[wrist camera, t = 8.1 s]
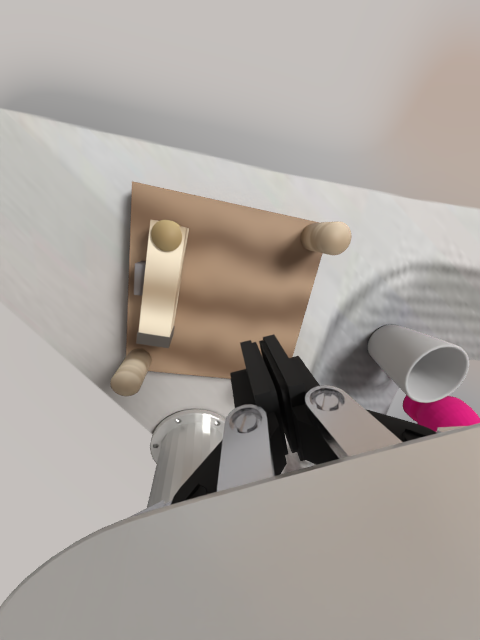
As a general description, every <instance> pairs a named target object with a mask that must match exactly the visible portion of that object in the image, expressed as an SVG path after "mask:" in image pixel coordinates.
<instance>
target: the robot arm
mask: <svg viewBox="0 0 480 640" xmlns="http://www.w3.org/2000/svg"><path fill="white" fill-rule="evenodd" d="M259 343H260V348H261V353H262V355H261V353H260V350H259V348H258V345H257V343H256V342H253V343H252V342H251V340H249V341H244V342H240V345H241V350H242V354H243V358H244V363H245V367H246V369H243V370H239V371H235V372H231V373H230V376H231V383H232V390H233V397H234V404H235V409H234V410H232V411H231V412H230V413H229V414H228V416H227V417H226V419H225V418H223V417H222V416H220V415H218V414H217V413H214V412H211V411H208V410H201V409H191V410H184V411H181V412H177V413H175V414H173V415H171V416H169V417H167V418H166V419H164V420H163V421H162V422H161V423H160V424H159V425H158V426H157V427H156V429H155V431H154V433H153V436H152V439H151V444H150V450H151V454H152V457H153V459H154V461H155V462H156V464H157V466H156V471H155V475H154V479H153V484H152V489H151V493H150V497H149V501H148V506H147V509H145V510H143V511H141V512H139V513H137V514H135V515H133V516H131V517H129V518H127V519H124V520H121V521H119V522H116V523H114V524H112V525H109V526H107V527H104V528H102V529H100V530H98V531H96V532H94V533H92V534H90V535H88V536H86V537H84V538H82V539H80V540H79V541H77V542H75V543H73V544H72V545H70V546H69V547H67V548H66V549H64V550H63V551H61V552H60V553H58V554H57V555H55V556H53V557H52V558H50V559H49V560H48V561H46V562H45V563H44V564H43V565H41V566H40V567H39V568H37V569H36V570H35V571H34V572H33V573H32V574H30V575H29V576H28V577H27V578H25V580H23V581H22V582H21V584H19V585H18V587H17V588H16V589H15V590H14V591H13V592H12V593H11V594H10V595H9V596H8V598H7V599H6V600H5V601H4V602H3V604H2V605H1V606H0V640H480V423H478V424H474V425H470V426H456V427H438V428H437V432H435V431H433V430H432V429H430V428H427V427H425V426H422V425H419V424H415V423H412V422H408V421H405V420H401V419H398V418H394V417H391V416H387V415H384V414H380V413H377V412H373V411H370V410H366V409H364V408H363V407H362V406H361V405H360V404H359V403H357V402H356V401H355V400H354V399H353V398H352V397H351V396H349V395H348V394H347V393H346V392H345V391H343V390H342V389H340V388H337V387H335V386H329V385H323V386H320V385H319V384H318V382H317V381H316V380H315V378H314V377H313V375H312V374H311V373H310V371H309V370H308V368H307V367H306V366H305V364H304V363H303V361H302V360H301V359H300V357H299V356H296V357H292V358H289V357H288V356H287V354H286V352H285V351H284V349H283V348H282V346H281V344H280V343H279V341H278V340H277V338H276V336H275V335H274V334H273V335H269V336H265V337H263V340H261V341H259ZM284 433H285V434H284ZM285 435H286V438H287V441H288V443H289V446H290V449H291V451H292V453H295V452H297V453H298V456H299V458H300V461H303V460H307V461H310V462H312V463H314V466H311V467H307V468H303V469H299V470H296V471H292V472H288V473H284V474H281V472H282V470H283V469H284V467H285V465H286V464H287V463H286V458H285V455H287V454H288V450H287V445H286V439H285ZM280 474H281V475H280Z"/></svg>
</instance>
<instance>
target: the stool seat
mask: <svg viewBox="0 0 480 640" xmlns="http://www.w3.org/2000/svg"><path fill="white" fill-rule="evenodd" d="M150 220H156V221H161V220H170V221H174V222H177V223H179V224H180V225H181V226H182V227H185V228H189V231H188V238H187V244H186V250H185V257H184V263H183V270H182V276H181V283H180V289H179V295H178V302H177V308H176V315H175V321H174V326H175V327H174V334H173V338H172V340H171V343H170V346H169V348H163V347H156V346H150V345H143V344H137V343H136V339H137V332H138V331H139V323H140V314H141V305H142V295H143V286H144V276H145V267H146V257H147V248H148V239H149V229H150ZM350 241H351V231H350V228H349V227H348V226H347V225H346V224H345V223H343V222H322V223H319V222H314V221H310V220H305V219H301V218H296V217H291V216H287V215H282V214H278V213H273V212H269V211H264V210H260V209H255V208H251V207H246V206H241V205H237V204H232V203H228V202H223V201H219V200H214V199H210V198H205V197H201V196H196V195H191V194H187V193H182V192H178V191H173V190H169V189H164V188H160V187H155V186H151V185H146V184H141V183H137V182H132V198H131V227H130V256H129V285H128V314H127V343H126V358H125V359H124V361H123V362H122V364H121V365H120V367H119V368H118V370H117V371H116V373H115V374H114V376H113V377H112V379H111V383H110V384H111V388H112V389H113V391H114V392H116V393H117V394H119V395H122V396H131V395H134V394H136V393H137V392H138V391H139V389H140V387H141V385H142V382H143V380H144V378H145V376H146V373H147V371H154V372H165V373H176V374H186V375H197V376H207V377H218V378H229V379H231V376H230V373H231V372H235V371H239V370H243V369H246V367H245V363H244V358H243V354H242V350H241V345H240V342H244V341H249V340H251V342H252V343H253V342H256V343H257V345H258V348H259V350H260V353H261V348H260V343H259V341H261V340H263V337H265V336H269V335H273V334H274V335H275V336H276V338H277V340H278V341H279V343H280V344H281V346H282V348H283V349H284V351H285V352H286V354H287V356H288V357H289V358H292V356H293V353H294V349H295V346H296V342H297V339H298V336H299V332H300V329H301V325H302V322H303V318H304V315H305V311H306V308H307V305H308V301H309V298H310V294H311V291H312V287H313V284H314V280H315V277H316V273H317V270H318V267H319V263H320V260H321V256H322V253H324V254H329V255H338V254H341V253H342V252H344V251H345V250H346V249H347V248H348V246H349V244H350ZM261 355H262V353H261Z"/></svg>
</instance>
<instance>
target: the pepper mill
mask: <svg viewBox="0 0 480 640" xmlns="http://www.w3.org/2000/svg"><path fill="white" fill-rule="evenodd" d="M403 409H404V411H405V412H406V413H407V414H408V415H409V416H410V417H411V418H412V419H413V420H415V421H417V423H418V424H419V425H422V426H425V427H427V428H430V429H432V430H433V431H435V432H437V428H438V427H456V426H470V425H474V424H478V423H480V418H479V417H478V415H477V414H476V413H475V412H474V411H473V410H472V408H471V407H469V406H468V405H467V404H466V403H464V402H463V401H462V400H460V399H458V398H456V397H451V396H446V397H445V398H443V399H440V400H438V401H435V402H429V403H422V402H417V401H414V400H412V399H411V398H410V397H408V396H407V395H406V397H405V398H404V401H403Z"/></svg>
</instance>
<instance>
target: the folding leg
mask: <svg viewBox="0 0 480 640" xmlns="http://www.w3.org/2000/svg"><path fill="white" fill-rule="evenodd" d="M188 231H189V228H185V227H182V226H181V225H180V224H179V223H177V222H174V221H170V220H161V221H156V220H150V229H149V239H148V248H147V257H146V267H145V276H144V286H143V295H142V305H141V314H140V323H139V331H138V332H137V339H136V343H137V344H143V345H150V346H156V347H163V348H169V346H170V343H171V340H172V338H173V334H174V327H175V326H174V321H175V315H176V308H177V302H178V295H179V289H180V283H181V276H182V270H183V263H184V257H185V250H186V244H187V238H188Z"/></svg>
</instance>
